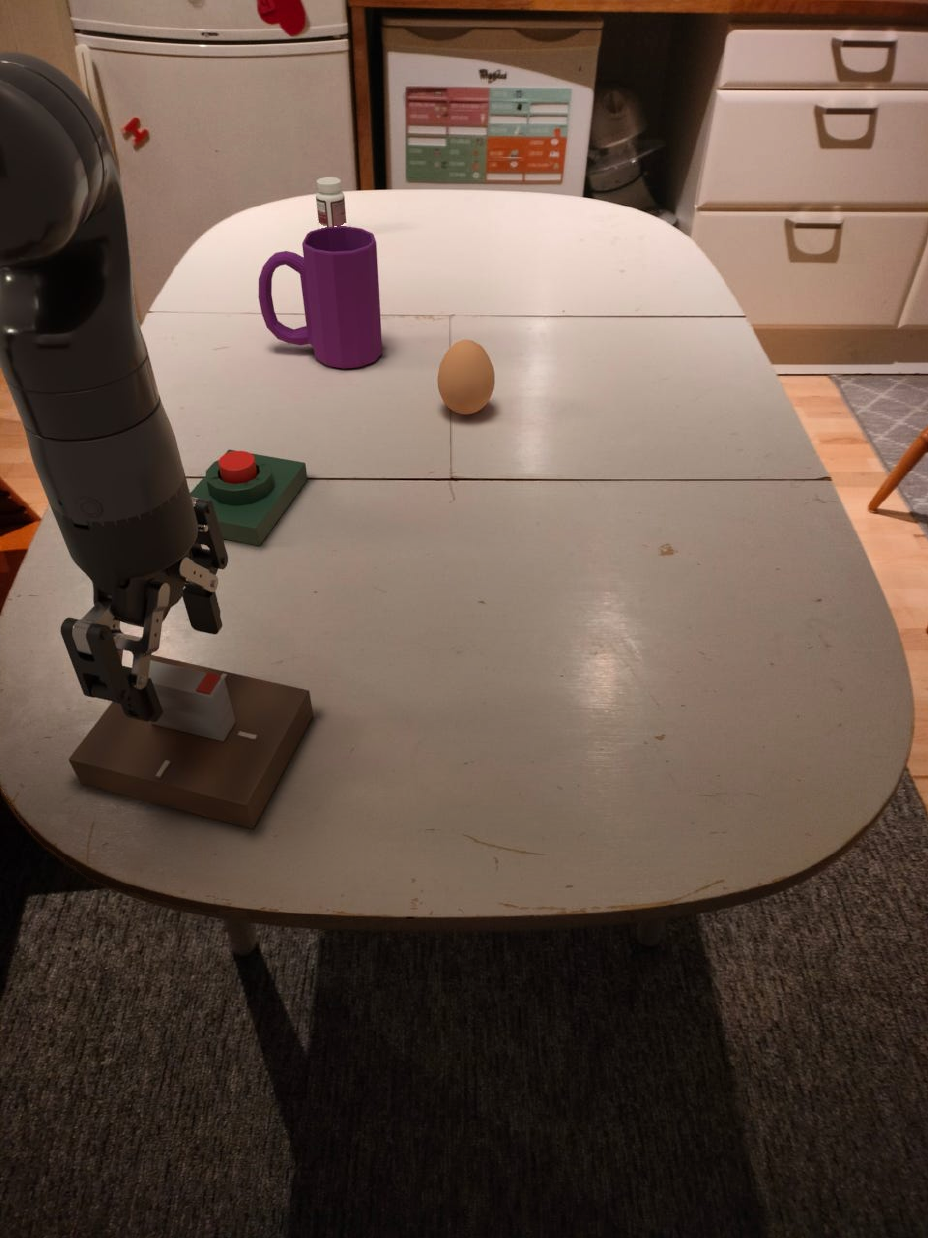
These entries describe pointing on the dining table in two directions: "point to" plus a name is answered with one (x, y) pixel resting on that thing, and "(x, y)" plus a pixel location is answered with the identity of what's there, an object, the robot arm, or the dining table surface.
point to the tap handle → (192, 701)
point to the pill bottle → (330, 202)
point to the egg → (466, 377)
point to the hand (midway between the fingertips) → (178, 670)
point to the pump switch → (252, 497)
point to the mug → (332, 296)
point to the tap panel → (200, 752)
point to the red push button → (237, 467)
